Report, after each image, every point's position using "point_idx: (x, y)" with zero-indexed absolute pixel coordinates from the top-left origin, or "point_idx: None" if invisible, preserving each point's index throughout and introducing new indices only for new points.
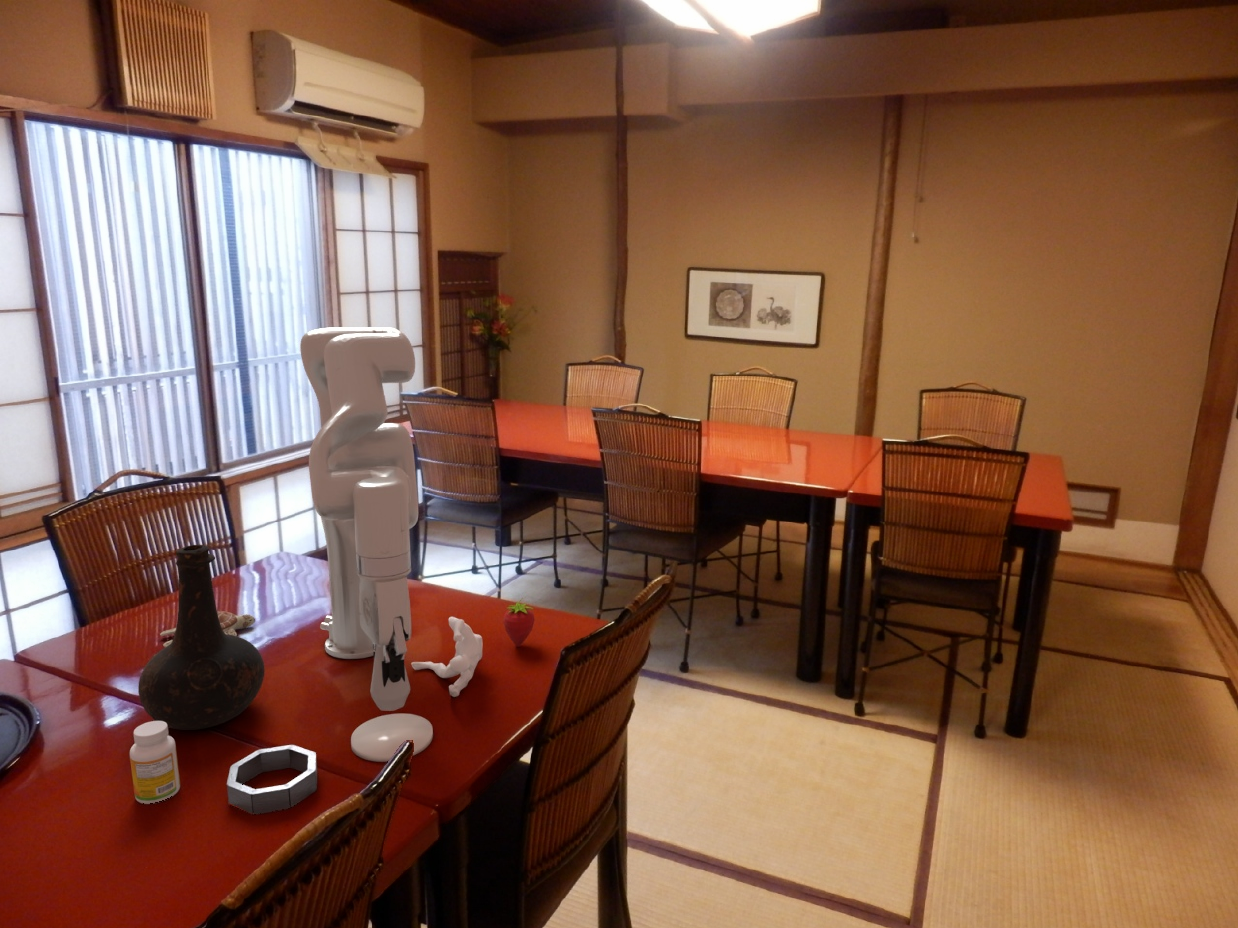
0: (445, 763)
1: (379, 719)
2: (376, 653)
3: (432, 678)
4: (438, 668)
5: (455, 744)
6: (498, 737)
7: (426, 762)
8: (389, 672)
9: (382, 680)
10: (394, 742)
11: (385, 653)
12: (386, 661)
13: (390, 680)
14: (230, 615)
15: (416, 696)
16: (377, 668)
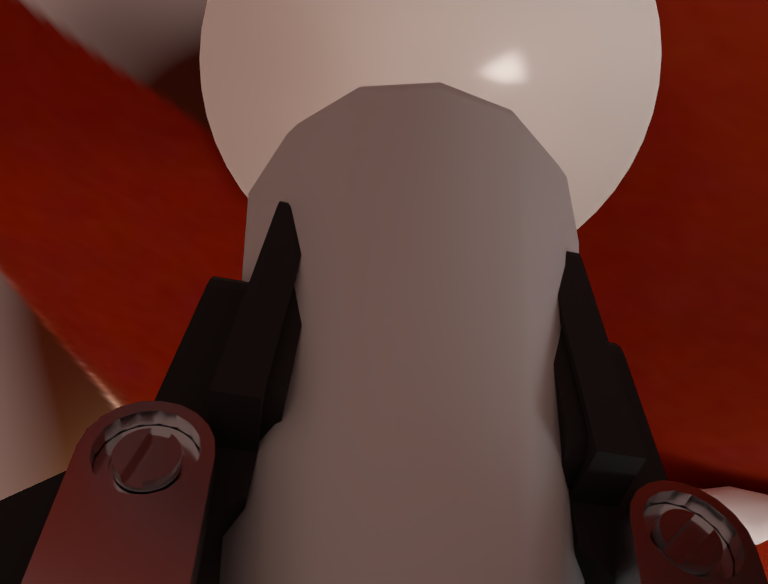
0: (67, 159)
1: (614, 124)
2: (468, 464)
3: (746, 463)
4: (741, 516)
5: (195, 266)
6: (152, 389)
7: (119, 100)
8: (210, 337)
9: (302, 231)
10: (329, 60)
11: (64, 550)
12: (86, 433)
13: (218, 279)
14: None
15: (683, 358)
16: (373, 295)
